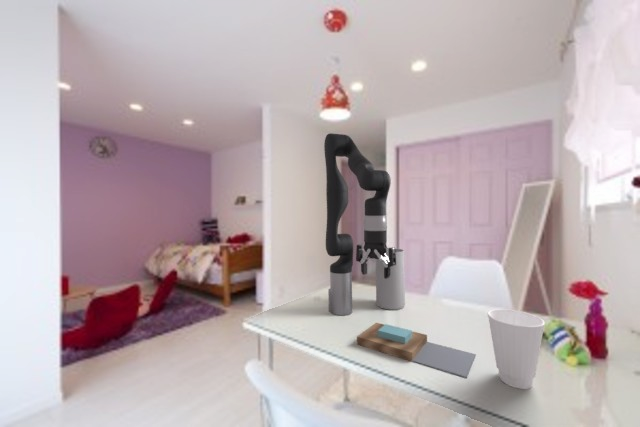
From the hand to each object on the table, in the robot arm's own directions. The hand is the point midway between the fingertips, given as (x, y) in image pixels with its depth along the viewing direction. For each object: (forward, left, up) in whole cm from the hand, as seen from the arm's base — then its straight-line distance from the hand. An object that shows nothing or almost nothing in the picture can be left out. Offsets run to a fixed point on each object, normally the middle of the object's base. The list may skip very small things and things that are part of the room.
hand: (375, 276), depth 97 cm
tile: (+8, -2, -18) cm, 20 cm away
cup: (+40, -3, -21) cm, 45 cm away
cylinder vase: (-8, +32, -21) cm, 39 cm away
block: (+7, -2, -21) cm, 22 cm away
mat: (+23, -2, -21) cm, 31 cm away
